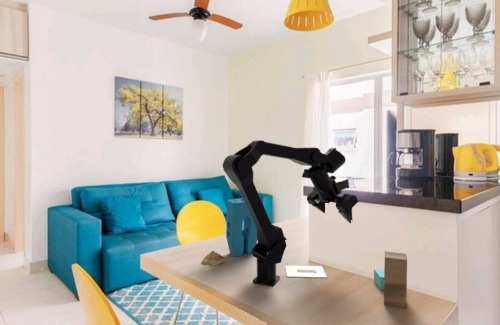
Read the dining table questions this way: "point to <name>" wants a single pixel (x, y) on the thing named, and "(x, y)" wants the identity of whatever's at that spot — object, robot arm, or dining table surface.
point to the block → (240, 228)
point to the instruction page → (305, 271)
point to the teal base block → (379, 278)
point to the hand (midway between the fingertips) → (340, 219)
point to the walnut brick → (395, 279)
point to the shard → (213, 258)
